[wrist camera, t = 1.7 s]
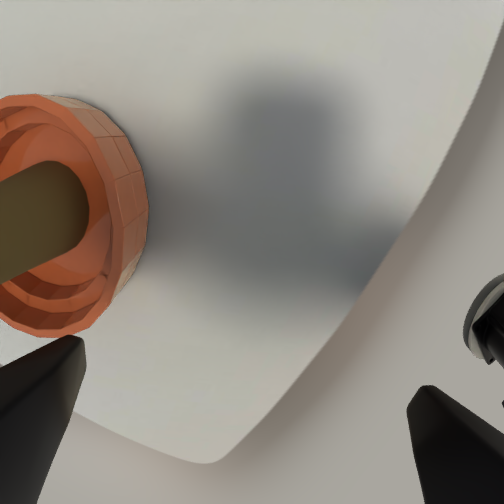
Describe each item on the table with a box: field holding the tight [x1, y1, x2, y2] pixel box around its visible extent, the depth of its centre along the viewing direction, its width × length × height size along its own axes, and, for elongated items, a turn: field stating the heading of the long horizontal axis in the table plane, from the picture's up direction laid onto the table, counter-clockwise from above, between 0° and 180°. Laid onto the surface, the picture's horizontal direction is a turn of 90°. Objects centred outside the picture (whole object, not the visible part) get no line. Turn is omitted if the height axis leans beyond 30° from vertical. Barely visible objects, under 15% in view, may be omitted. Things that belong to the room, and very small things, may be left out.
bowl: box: [0, 94, 149, 338], centre depth 15 cm, size 14×14×4 cm
